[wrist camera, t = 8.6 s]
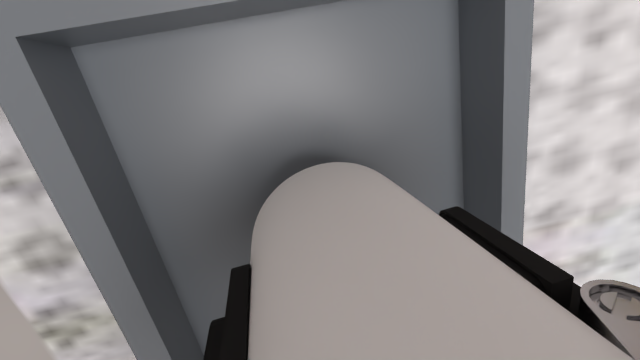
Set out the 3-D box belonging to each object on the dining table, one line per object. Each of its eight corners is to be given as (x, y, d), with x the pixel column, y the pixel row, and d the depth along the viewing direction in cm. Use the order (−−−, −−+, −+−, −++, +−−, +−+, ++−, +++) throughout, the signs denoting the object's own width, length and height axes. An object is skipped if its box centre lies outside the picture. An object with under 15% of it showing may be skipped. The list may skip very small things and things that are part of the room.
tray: (475, 303, 20) (517, 346, 17) (203, 392, 18) (191, 461, 15) (469, -49, 13) (538, -91, 10) (33, 21, 11) (-59, -5, 8)
